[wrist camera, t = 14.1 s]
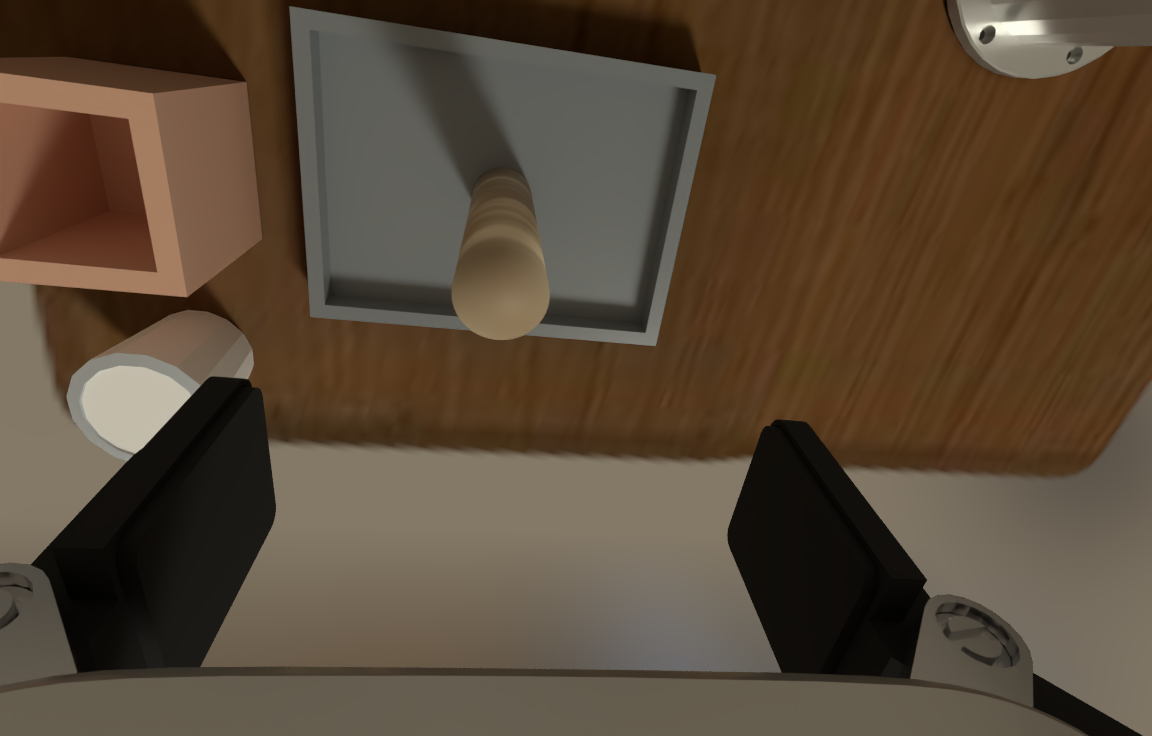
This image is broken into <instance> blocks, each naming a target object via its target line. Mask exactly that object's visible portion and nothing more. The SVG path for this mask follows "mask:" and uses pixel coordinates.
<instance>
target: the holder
mask: <svg viewBox="0 0 1152 736" xmlns="http://www.w3.org/2000/svg"><path fill="white" fill-rule="evenodd" d="M261 239H262V230H261V220H260V210H259V201H258V191H257V181H256V171H255V161H254V151H253V142H252V132H251V122H250V112H249V102H248V92H247V83H246V82H243V81H236V80H229V79H221V78H214V77H207V76H200V75H193V74H186V73H179V72H172V71H165V70H158V69H151V68H143V67H136V66H129V65H122V64H115V63H108V62H101V61H94V60H87V59H80V58H72V57H16V58H0V281H5V282H17V283H28V284H40V285H52V286H63V287H75V288H86V289H98V290H110V291H121V292H133V293H144V294H156V295H168V296H179V297H188V296H189V295H191V294H192V293H193V292H195V291H196V290H197V289H198V288H200V287H201V286H202V285H204V284H205V283H206V282H207V281H209V280H210V279H211V278H213V277H214V276H215V275H216V274H218V273H219V272H220V271H222V270H223V269H224V268H225V267H227V266H228V265H229V264H231V263H232V262H233V261H234V260H236V259H237V258H238V257H240V256H241V255H242V254H243V253H245V252H246V251H247V250H249V249H250V248H251V247H252V246H254V245H255V244H256V243H258V242H259V241H260V240H261Z"/></svg>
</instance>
